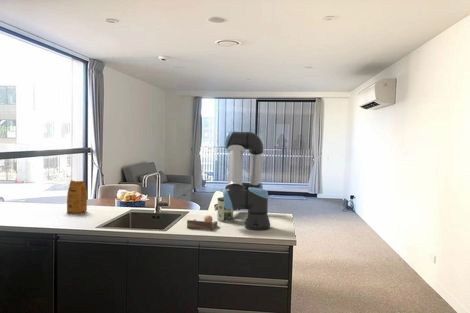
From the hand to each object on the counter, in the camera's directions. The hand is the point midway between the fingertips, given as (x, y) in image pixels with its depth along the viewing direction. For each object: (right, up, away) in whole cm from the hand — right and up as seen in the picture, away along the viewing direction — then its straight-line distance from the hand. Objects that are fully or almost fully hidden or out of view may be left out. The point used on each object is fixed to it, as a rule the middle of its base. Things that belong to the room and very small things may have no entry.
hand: (223, 209), depth 223 cm
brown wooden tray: (-12, -8, -15) cm, 21 cm away
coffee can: (+1, -8, +4) cm, 9 cm away
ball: (-9, -5, -6) cm, 12 cm away
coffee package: (-103, -5, +23) cm, 106 cm away
